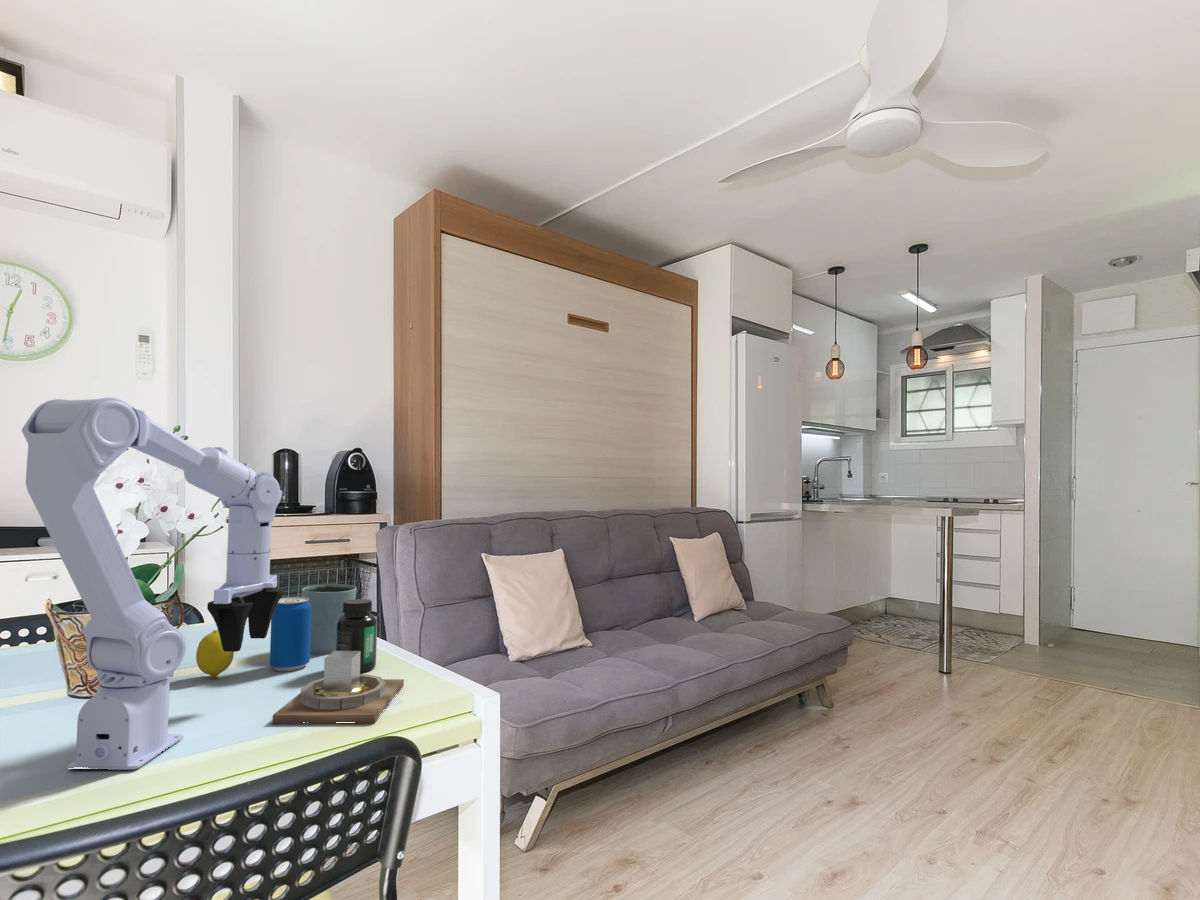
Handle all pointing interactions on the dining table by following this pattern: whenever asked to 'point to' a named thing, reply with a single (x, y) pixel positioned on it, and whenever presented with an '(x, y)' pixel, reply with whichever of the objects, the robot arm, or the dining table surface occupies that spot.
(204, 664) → the lemon
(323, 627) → the green plant pot
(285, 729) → the dining table surface
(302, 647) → the beverage can
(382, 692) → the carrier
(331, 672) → the gear
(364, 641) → the supplement bottle
